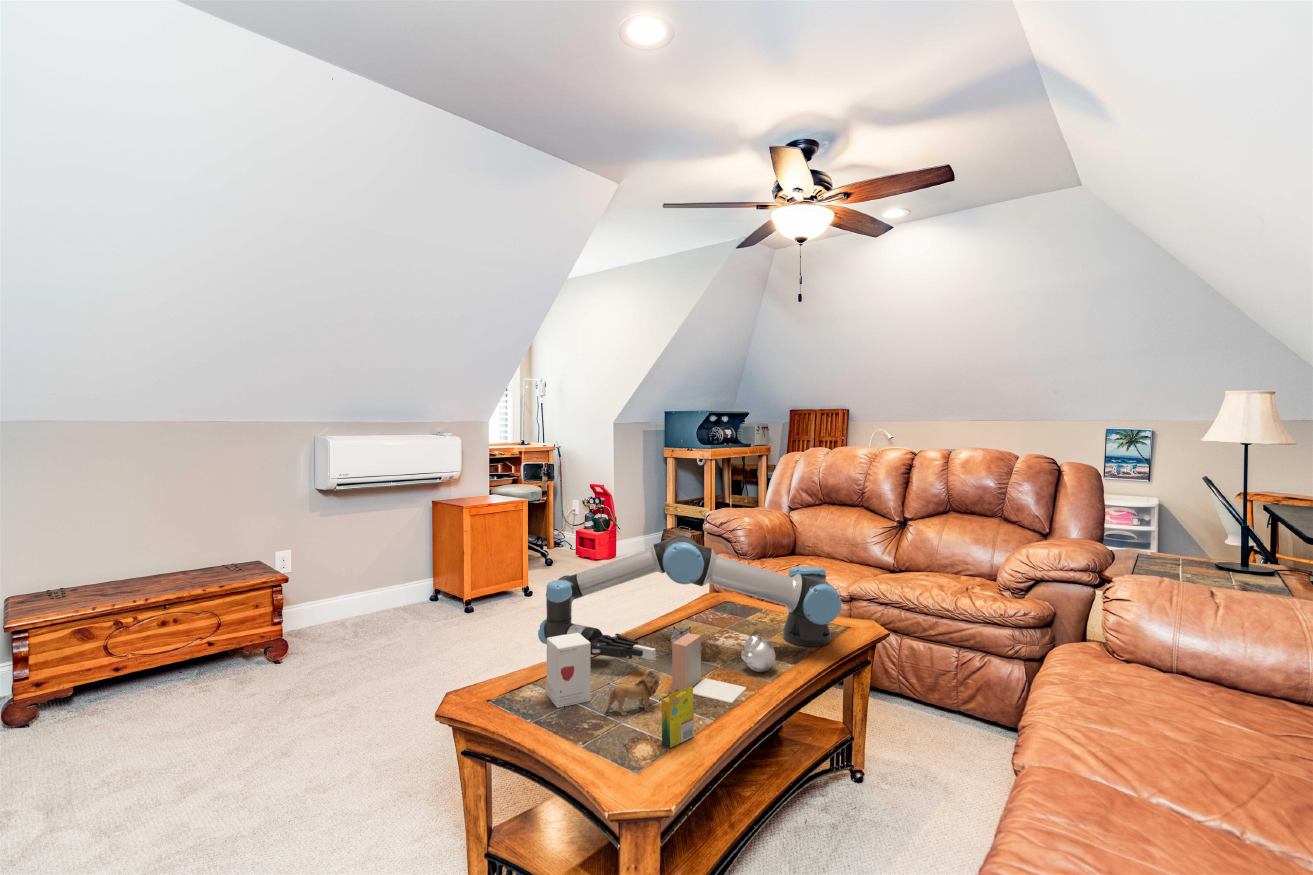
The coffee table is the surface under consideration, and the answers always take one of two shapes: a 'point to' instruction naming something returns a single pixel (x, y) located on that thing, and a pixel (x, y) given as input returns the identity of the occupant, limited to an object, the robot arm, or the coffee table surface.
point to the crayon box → (677, 717)
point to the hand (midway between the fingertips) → (654, 654)
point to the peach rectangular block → (686, 661)
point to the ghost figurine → (758, 654)
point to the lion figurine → (635, 692)
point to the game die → (678, 634)
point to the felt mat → (718, 690)
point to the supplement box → (568, 669)
